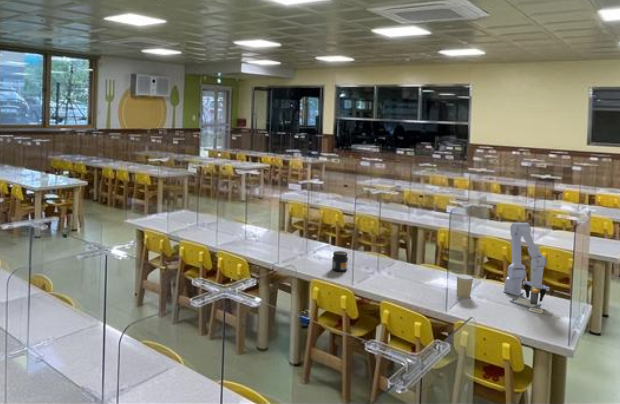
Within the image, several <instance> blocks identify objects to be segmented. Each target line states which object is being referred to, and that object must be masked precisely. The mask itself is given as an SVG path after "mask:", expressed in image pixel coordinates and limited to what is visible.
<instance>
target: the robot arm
mask: <svg viewBox="0 0 620 404" xmlns="http://www.w3.org/2000/svg"><path fill="white" fill-rule="evenodd" d="M509 227H510V228H509V229H510V236H511V237H510V238H511V264H509V265H508V266H507V272H506V274H507V277H506V278H505V280H504V288H503V292H504V293H507V294H511V295H513V296H516V297H520V296H521V295H522V294H524V293H525V296H526V298H527V299H528V298H530V295H531V292H530V291H531V288H535V289H536V288H537V289H538V290H539V303H541V302H543V299H544V297H545V296H546V294H547V292H549V291H550V286H546V285H544V284H542V282H543V275H544V268H545V267H546V266H547V258H546V257H545V256H544V255H543V254H542V252H541V250H540V248H539V247H538V245H536V244H535V242H534V240H533V237H532V234H531V231H532V227H531V224H530V223H529V222H513V223H511V225H510V226H509ZM522 238H523V240H524V241H525V243H526V245H527V246H528V247H527V252H528V254H529V256H530V258H531V260H530V264H531V269H532V271H531V279H530V281H527V280H524V279H525V278H526V277H527V271H526V266H525V265H524V264H522V245H521V241H522V240H521V239H522ZM522 285H523V289H524V291H525V292H524V291H522Z"/></svg>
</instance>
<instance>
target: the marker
mask: <svg viewBox="0 0 620 404" xmlns="http://www.w3.org/2000/svg"><path fill="white" fill-rule="evenodd" d="M530 291H531V292H530V297H529V300H530V303H531V304H535V305H536V304H537V303H539V301H538V300H539V296H540V289H538V288H537V289H536V288H532V289H531V288H530Z"/></svg>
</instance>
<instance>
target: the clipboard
mask: <svg viewBox="0 0 620 404" xmlns="http://www.w3.org/2000/svg"><path fill="white" fill-rule="evenodd" d="M509 302H510V303H513V304H517V305H520V306H523V307H525V308H526V307H527V308H529V309H530V308H535V309H537V308H538V307H539V306H541V304H542V303H541V302H538V303H537V304H536V305H535V304H531V303H530V299H528V298H527V299H525V298H524V297H523V298H522V297H520V296H515V297H513V298H512V299H511V300H510V301H509Z"/></svg>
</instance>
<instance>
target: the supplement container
mask: <svg viewBox="0 0 620 404" xmlns="http://www.w3.org/2000/svg"><path fill="white" fill-rule="evenodd" d="M332 255H333V256H332V257H331V258H332V259H331V262H332V265H331V270H332V271H333V272H338V273H344V272H346V271H347V270H348V262H349V261H348V260H349V258H348V252H346V251H343V250H342V251H341V250H336V251H333V253H332Z"/></svg>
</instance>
